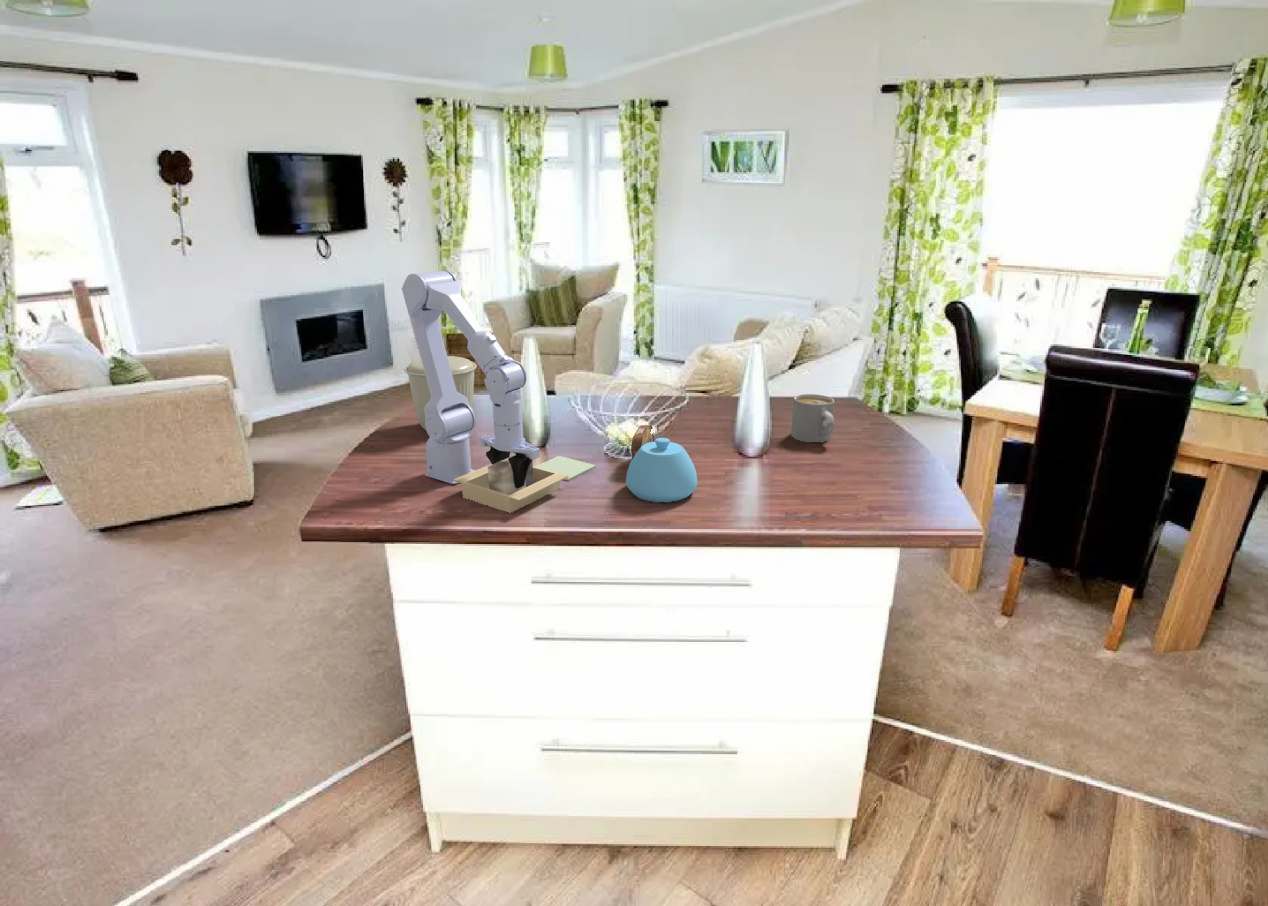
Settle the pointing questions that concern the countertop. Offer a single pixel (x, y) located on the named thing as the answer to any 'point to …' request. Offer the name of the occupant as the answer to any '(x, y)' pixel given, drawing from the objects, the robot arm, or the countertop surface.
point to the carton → (478, 491)
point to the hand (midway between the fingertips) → (511, 484)
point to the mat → (566, 467)
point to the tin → (641, 438)
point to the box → (506, 477)
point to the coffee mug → (812, 418)
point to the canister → (420, 389)
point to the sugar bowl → (661, 472)
